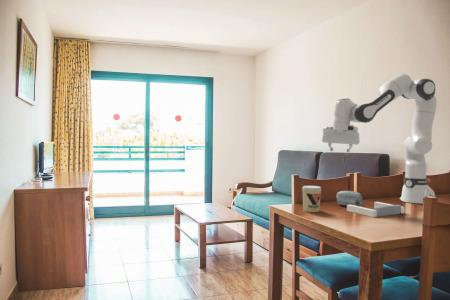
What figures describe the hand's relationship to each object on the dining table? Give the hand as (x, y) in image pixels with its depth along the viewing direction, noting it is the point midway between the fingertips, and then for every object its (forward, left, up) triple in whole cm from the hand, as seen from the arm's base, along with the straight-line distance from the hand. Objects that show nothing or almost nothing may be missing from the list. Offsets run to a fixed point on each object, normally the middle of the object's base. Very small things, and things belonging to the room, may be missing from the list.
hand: (339, 151), depth 210 cm
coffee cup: (+30, +11, -29) cm, 43 cm away
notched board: (+2, +27, -29) cm, 40 cm away
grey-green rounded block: (+2, +10, -29) cm, 31 cm away
